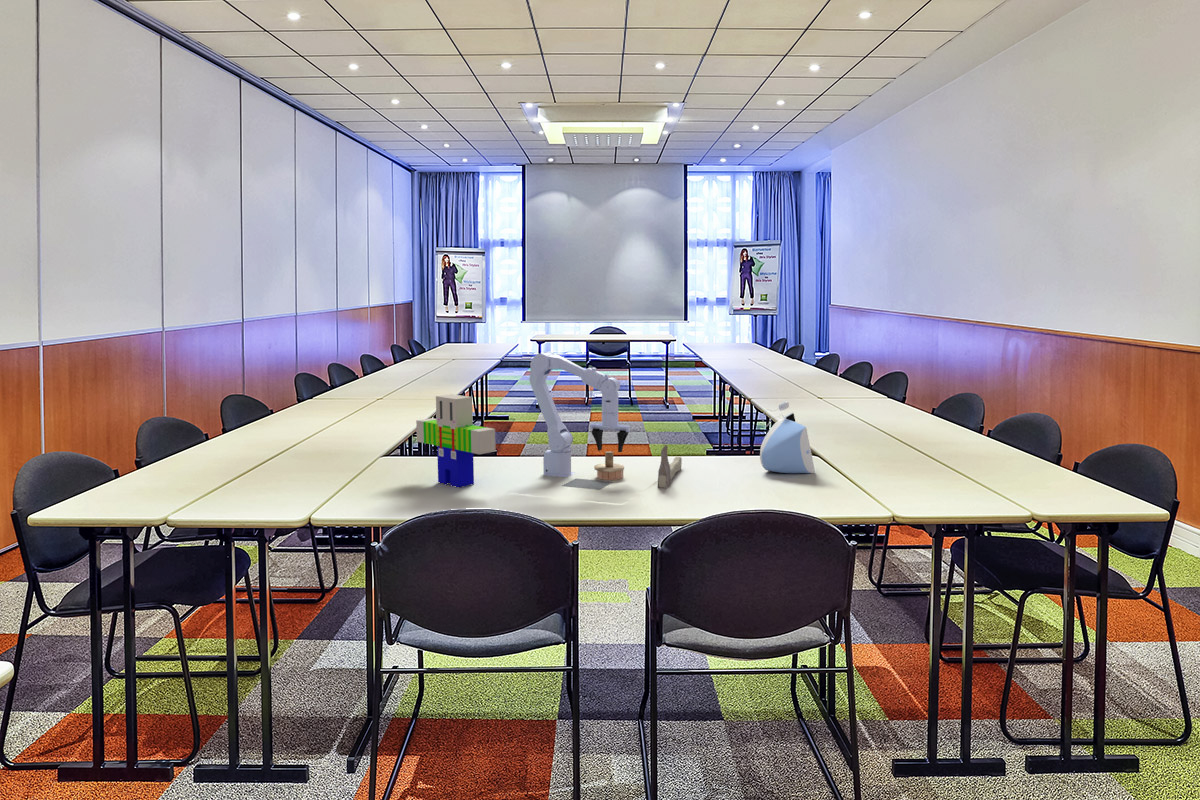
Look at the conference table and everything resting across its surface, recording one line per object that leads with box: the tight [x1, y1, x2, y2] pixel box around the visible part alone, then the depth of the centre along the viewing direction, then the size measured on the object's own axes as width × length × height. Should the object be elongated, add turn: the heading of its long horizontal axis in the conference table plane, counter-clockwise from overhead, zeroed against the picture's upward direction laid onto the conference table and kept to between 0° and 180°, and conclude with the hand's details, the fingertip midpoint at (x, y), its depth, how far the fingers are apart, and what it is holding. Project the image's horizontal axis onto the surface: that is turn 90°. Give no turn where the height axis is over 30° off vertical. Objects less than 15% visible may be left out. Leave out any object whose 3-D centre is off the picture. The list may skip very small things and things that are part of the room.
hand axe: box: [657, 444, 683, 489], centre depth 315 cm, size 35×3×14 cm, turn 165°
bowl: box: [596, 470, 624, 481], centre depth 315 cm, size 9×9×4 cm
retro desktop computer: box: [759, 400, 816, 474], centre depth 326 cm, size 25×23×17 cm
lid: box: [594, 451, 625, 472], centre depth 314 cm, size 10×10×6 cm
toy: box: [415, 393, 496, 488], centre depth 306 cm, size 34×7×30 cm, turn 47°
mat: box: [561, 478, 614, 490], centre depth 305 cm, size 14×12×1 cm
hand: (610, 450), depth 314 cm, fingers open, 7 cm apart
